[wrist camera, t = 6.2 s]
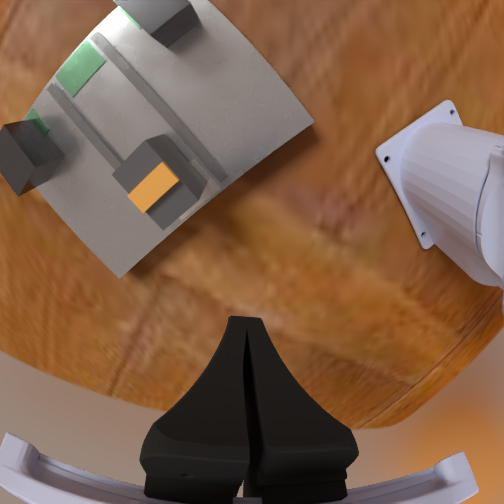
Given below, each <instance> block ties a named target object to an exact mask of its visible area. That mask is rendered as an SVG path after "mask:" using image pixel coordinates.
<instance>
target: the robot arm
mask: <svg viewBox="0 0 504 504" xmlns="http://www.w3.org/2000/svg"><path fill="white" fill-rule="evenodd" d="M450 111H452V115H451V114H450ZM386 156H388V161H387V162H384V158H385V157H386ZM376 157H377V158H378V160H379V162H380V164H381V165H382V167H383V169H384V171H385V173H386V174H387V176H388V178H389V180H390V182H391V184H392V186H393V187H394V189H395V191H396V193H397V195H398V197H399V199H400V201H401V203H402V205H403V207H404V209H405V211H406V214H407V216H408V218H409V220H410V222H411V224H412V226H413V229H414V231H415V233H416V235H417V238H418V240H419V242H420V245H421V246H422V247H423V248H424V249H428V248H430V247H431V246H432V245H434V244H435V245H436V246H437V247H438V248H440V249H441V250H442V251H443V252H444V253H445V254H446V255H447V256H448V257H449V258H451V259H452V260H453V261H454V262H455V263H456V264H457V265H458V266H459V267H460V268H461V269H462V270H463V271H464V272H465V273H466V274H467V275H468V276H469V277H471V278H472V279H473V280H474V281H476V282H478V283H480V284H483V285H488V286H499V287H500V288H501V289H502V290H503V297H502V312H503V317H504V136H503V135H499V134H495V133H491V132H488V131H483V130H479V129H475V128H470V127H466V126H463V125H462V122H461V120H460V117H459V115H458V113H457V111H456V108H455V106H454V104H453V103H452V102H451V101H449V100H445V101H443V102H442V103H440V104H439V105H438V106H436V107H435V108H433V109H432V110H430V111H429V112H427V113H426V114H424V115H423V116H422V117H420V118H419V119H417V120H416V121H414V122H413V123H412V124H410V125H409V126H407V127H406V128H404V129H403V130H401V131H400V132H399V133H397V134H396V135H394V136H393V137H391V138H390V139H389V140H387V141H386V142H384V143H383V144H381V145H380V146H379V147H378V148H377V149H376ZM423 232H424V234H423V235H422V236H421V234H422V233H423ZM358 455H359V451H358V447H357V443H356V441H355V438H354V436H353V434H352V431H351V429H349V428H348V427H346V426H345V425H343V424H342V423H341V422H339V421H338V420H336V419H335V418H333V417H332V416H331V415H330V414H329V413H327V412H326V411H325V410H324V409H323V408H322V407H321V406H320V405H319V404H317V403H316V402H315V401H314V400H313V399H312V398H311V397H310V396H309V395H308V394H307V393H306V391H305V390H304V389H303V388H302V387H301V386H300V384H299V383H298V382H297V381H296V380H295V378H294V377H293V376H292V374H291V373H290V371H289V370H288V369H287V367H286V366H285V364H284V363H283V361H282V359H281V358H280V356H279V354H278V353H277V351H276V349H275V347H274V346H273V344H272V342H271V340H270V338H269V336H268V333H267V331H266V329H265V326H264V324H263V321H262V319H261V318H255V317H242V316H230V317H229V318H228V324H227V327H226V330H225V333H224V335H223V338H222V340H221V342H220V344H219V346H218V348H217V350H216V352H215V354H214V356H213V357H212V359H211V361H210V362H209V364H208V366H207V367H206V369H205V370H204V372H203V373H202V374H201V376H200V377H199V378H198V380H197V381H196V382H195V383H194V385H193V386H192V387H191V388H190V390H189V391H188V392H187V393H186V394H185V395H184V396H183V397H182V398H181V399H180V400H179V401H178V402H177V403H176V404H175V405H174V406H173V407H172V408H171V409H170V410H169V411H168V412H166V413H165V414H164V415H163V416H162V417H160V418H159V419H158V420H157V421H156V422H155V423H153V425H152V426H151V428H150V430H149V432H148V434H147V436H146V438H145V440H144V442H143V445H142V449H141V454H140V459H139V460H140V463H141V465H142V467H143V469H144V471H145V472H146V474H147V475H146V481H145V486H140V485H136V484H131V483H127V482H123V481H119V480H115V479H112V478H108V477H104V476H101V475H98V474H94V473H91V472H88V471H85V470H82V469H79V468H76V467H74V466H71V465H68V464H66V463H63V462H60V461H58V460H55V459H53V458H50V457H48V456H45V455H43V454H41V453H39V451H38V450H37V449H36V448H35V447H34V446H33V445H32V444H30V443H29V442H27V441H25V440H23V439H21V438H19V437H17V436H15V435H13V434H11V433H9V432H8V433H6V435H5V437H4V440H3V442H2V445H1V447H0V486H1V487H3V488H4V489H5V490H7V491H8V492H10V493H12V494H13V495H15V496H16V497H18V498H20V499H21V500H23V501H25V502H27V503H29V504H459V503H461V502H463V501H464V500H466V499H468V498H469V497H471V496H473V495H474V494H476V493H477V492H478V490H479V489H478V487H477V484H476V481H475V479H474V476H473V473H472V471H471V468H470V466H469V464H468V461H467V459H466V456H465V454H464V452H463V451H461V452H458V453H456V454H453V455H451V456H448V457H446V458H444V459H442V460H441V461H439V462H438V463H437V464H435V465H434V467H432V468H429V469H426V470H423V471H420V472H417V473H414V474H411V475H407V476H404V477H401V478H396V479H393V480H389V481H385V482H381V483H377V484H372V485H368V486H363V487H358V488H353V489H346V484H345V479H346V478H347V473H346V468H347V467H349V465H351V464H352V463H353V462H354V461H355V459H356V458H357V456H358ZM243 480H244V483H243V497H236V496H237V493H238V490H239V487H240V486H241V485H242V482H243Z"/></svg>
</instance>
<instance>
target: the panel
mask: <svg viewBox="0 0 504 504" xmlns="http://www.w3.org/2000/svg"><path fill="white" fill-rule="evenodd" d="M113 1H114V2H115V3H117V4H118V5H119V6H118V7H117V8H116V9H115V10H114V11H113V12H112V13H111V14H110V15H109V16H107V17H106V18H105V19H104V20H103V21H102V22H101V23H100V24H99V25H98V26H97V27H96V28H95V29H94V30H93V31H92V32H91V33H90V34H89V35H88V36H87V37H86V38H85V39H84V41H83V42H82V43H81V44H80V45H79V46H78V47H77V48H76V49H75V50H74V52H73V53H72V54H71V55H70V56H69V57H68V59H67V60H66V61H65V62H64V63H63V65H62V66H61V67H60V68H59V70H58V71H57V72H56V73H55V75H54V76H53V77H52V78H51V80H50V81H49V82H48V84H47V85H46V86H45V88H44V89H43V91H42V92H41V93H40V95H39V96H38V98H37V99H36V101H35V102H34V103H33V105H32V106H31V108H30V109H29V111H28V113H27V114H26V116H25V117H24V119H23V120H22V121H19V122H14V123H10V124H5V125H3V127H2V129H1V131H0V173H1V174H2V175H3V177H4V178H5V179H6V181H7V182H8V184H9V185H10V186H11V188H12V189H13V190H14V192H15V193H16V194H17V195H18V197H19V196H20V195H22V194H24V193H26V192H28V191H30V190H32V189H33V188H35V187H36V189H37V190H38V191H39V192H40V194H41V195H42V196H43V197H44V198H45V200H46V201H47V202H48V203H49V204H50V206H51V207H52V208H53V209H54V210H55V211H56V213H57V214H58V215H59V216H60V217H61V218H62V219H63V221H64V222H65V223H66V224H67V225H68V226H69V227H70V228H71V229H72V231H73V232H74V233H75V234H76V235H77V236H78V237H79V238H80V239H81V240H82V241H83V242H84V243H85V244H86V246H87V247H88V248H89V249H90V250H91V251H92V252H93V253H94V254H95V255H96V256H97V257H98V258H99V259H100V260H101V261H102V262H103V263H104V264H105V265H106V266H107V267H108V268H109V269H110V270H111V271H112V272H113V273H114V274H115V275H116V276H117V277H118V278H119V279H120V278H121V277H122V276H123V275H124V274H126V273H127V272H128V271H129V270H130V269H131V268H132V267H133V266H134V265H135V264H137V263H138V262H139V261H140V260H141V259H142V258H143V257H144V256H145V255H147V254H148V253H149V252H150V251H151V250H152V249H153V248H154V247H156V246H157V245H158V244H159V243H160V242H161V241H162V240H164V239H165V238H166V237H167V236H168V235H169V234H171V233H172V232H173V231H174V230H175V229H176V228H178V227H179V226H180V225H181V224H182V223H183V222H185V221H186V220H187V219H188V218H189V217H191V216H192V215H193V214H194V213H195V212H197V211H198V210H199V209H200V208H201V207H203V206H204V205H205V204H206V203H208V202H209V201H210V200H211V199H213V198H214V197H215V196H216V195H218V194H219V193H220V192H221V191H223V190H224V189H225V188H226V187H228V186H229V185H230V184H231V183H233V182H234V181H235V180H236V179H238V178H239V177H240V176H242V175H243V174H244V173H246V172H247V171H248V170H249V169H251V168H252V167H253V166H255V165H256V164H257V163H259V162H260V161H261V160H263V159H264V158H265V157H267V156H268V155H269V154H271V153H272V152H273V151H275V150H276V149H277V148H279V147H280V146H282V145H283V144H284V143H286V142H287V141H288V140H290V139H291V138H293V137H294V136H295V135H297V134H298V133H300V132H301V131H302V130H304V129H305V128H307V127H308V126H310V125H311V124H312V123H314V120H313V119H312V118H311V116H310V115H309V113H308V112H307V111H306V109H305V108H304V107H303V106H302V104H301V103H300V102H299V100H298V99H297V98H296V96H295V95H294V94H293V93H292V91H291V90H290V89H289V88H288V86H287V85H286V84H285V83H284V81H283V80H282V79H281V78H280V77H279V75H278V74H277V73H276V72H275V71H274V69H273V68H272V67H271V66H270V65H269V64H268V62H267V61H266V60H265V59H264V58H263V57H262V56H261V54H260V53H259V52H258V51H257V50H256V49H255V48H254V47H253V45H252V44H251V43H250V42H249V41H248V40H247V39H246V38H245V37H244V36H243V35H242V34H241V33H240V32H239V31H238V29H237V28H236V27H235V26H234V25H233V24H232V23H231V22H230V21H229V20H228V19H227V18H226V17H225V16H224V15H223V14H222V13H221V12H220V11H219V10H218V9H216V8H215V7H214V6H213V5H212V4H211V3H210V2H209V1H208V0H113ZM162 134H164V135H165V136H166V137H167V138H168V139H169V141H170V142H171V143H172V144H173V145H174V146H175V147H176V148H177V150H178V151H179V152H180V153H181V154H182V155H183V156H184V158H185V159H186V160H187V161H188V162H189V163H190V164H191V165H192V167H193V168H194V169H195V170H196V171H197V172H198V173H199V174H200V176H201V177H202V178H203V179H204V180H205V181H206V182H207V185H206V187H205V189H204V191H203V193H202V195H201V197H200V199H199V201H198V202H197V203H195V204H194V205H193V206H192V207H191V208H189V209H188V210H187V211H186V212H185V213H184V214H182V215H181V216H180V217H179V218H178V219H177V220H175V221H174V222H173V223H172V224H171V225H170V226H168V227H167V228H166V229H165V230H164V231H163V230H162V229H161V228H160V227H159V226H158V225H157V224H156V223H155V222H154V221H153V220H152V218H151V217H150V216H149V215H148V214H147V213H146V212H144V213H142V212H141V211H140V210H139V208H138V207H137V206H136V205H135V204H134V203H133V202H132V201H131V200H130V199H129V198H128V197H127V196H128V195H129V194H128V193H127V191H126V190H125V189H124V188H123V187H122V186H121V185H120V184H119V183H118V181H117V180H116V179H115V178H114V177H113V176H112V174H113V172H114V171H115V170H116V169H117V168H118V167H119V166H120V165H121V164H122V163H123V162H124V161H125V160H126V159H127V158H128V156H129V155H130V154H131V153H132V152H133V151H134V150H135V149H136V148H137V147H138V146H139V145H140V144H141V143H142V142H143V141H144V140H146V139H149V138H152V137H155V136H158V135H162Z"/></svg>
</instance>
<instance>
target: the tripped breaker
mask: <svg viewBox="0 0 504 504" xmlns="http://www.w3.org/2000/svg"><path fill="white" fill-rule="evenodd" d="M112 176H113V177H114V178H115V179H116V180H117V181H118V183H119V184H120V185H121V186H122V187H123V188H124V189H125V190H126V191H127V193H128V194H129V195H128V196H127V197H128V198H129V199H130V200H131V201H132V202H133V203H134V204H135V205H136V206H137V207H138V208H139V210H140V211H141V212H142V213H144V212H146V213H147V214H148V215H149V216H150V217H151V218H152V220H153V221H154V222H155V223H156V224H157V225H158V226H159V227H160V228H161V229H162V230H163V231H164V230H165V229H166V228H167V227H168V226H170V225H171V224H172V223H173V222H174V221H175V220H177V219H178V218H179V217H180V216H181V215H182V214H184V213H185V212H186V211H187V210H188V209H189V208H191V207H192V206H193V205H194V204H195V203H197V202H198V201H199V199H200V197H201V195H202V193H203V191H204V189H205V187H206V185H207V182H206V181H205V180H204V179H203V178H202V177H201V176H200V174H199V173H198V172H197V171H196V170H195V169H194V168H193V167H192V165H191V164H190V163H189V162H188V161H187V160H186V159H185V158H184V156H183V155H182V154H181V153H180V152H179V151H178V150H177V148H176V147H175V146H174V145H173V144H172V143H171V142H170V141H169V139H168V138H167V137H166V136H165V135H164V134H162V135H158V136H155V137H152V138H149V139H146V140H144V141H143V142H142V143H141V144H140V145H139V146H138V147H137V148H136V149H135V150H134V151H133V152H132V153H131V154H130V155H129V156H128V158H127V159H126V160H125V161H124V162H123V163H122V164H121V165H120V166H119V167H118V168H117V169H116V170H115V171H114V172H113V174H112Z"/></svg>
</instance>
